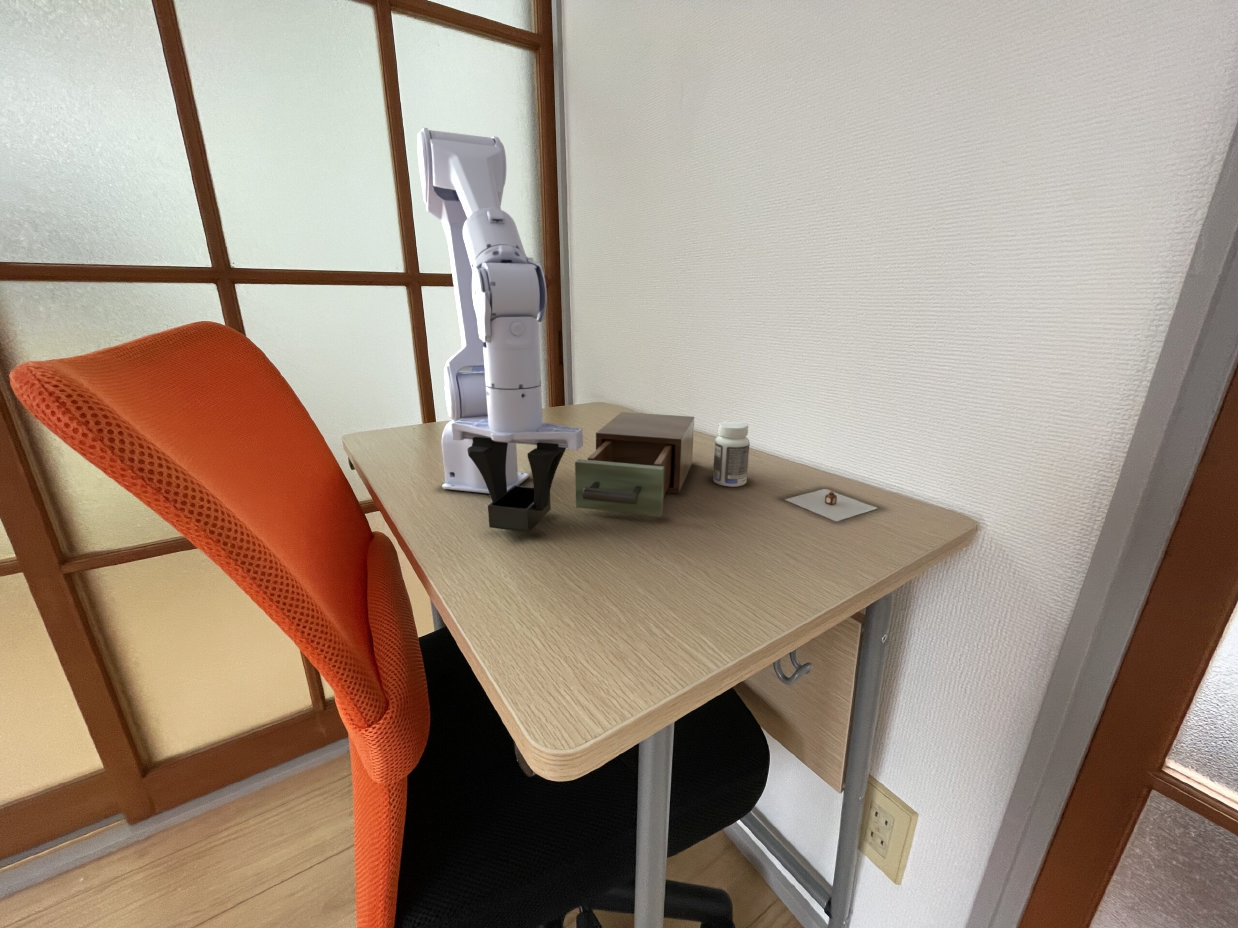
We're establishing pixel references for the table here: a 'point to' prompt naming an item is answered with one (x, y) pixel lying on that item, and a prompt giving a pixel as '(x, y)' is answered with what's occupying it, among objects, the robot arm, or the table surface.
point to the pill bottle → (731, 454)
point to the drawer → (625, 477)
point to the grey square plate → (831, 504)
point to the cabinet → (655, 438)
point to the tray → (516, 510)
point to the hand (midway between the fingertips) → (520, 504)
